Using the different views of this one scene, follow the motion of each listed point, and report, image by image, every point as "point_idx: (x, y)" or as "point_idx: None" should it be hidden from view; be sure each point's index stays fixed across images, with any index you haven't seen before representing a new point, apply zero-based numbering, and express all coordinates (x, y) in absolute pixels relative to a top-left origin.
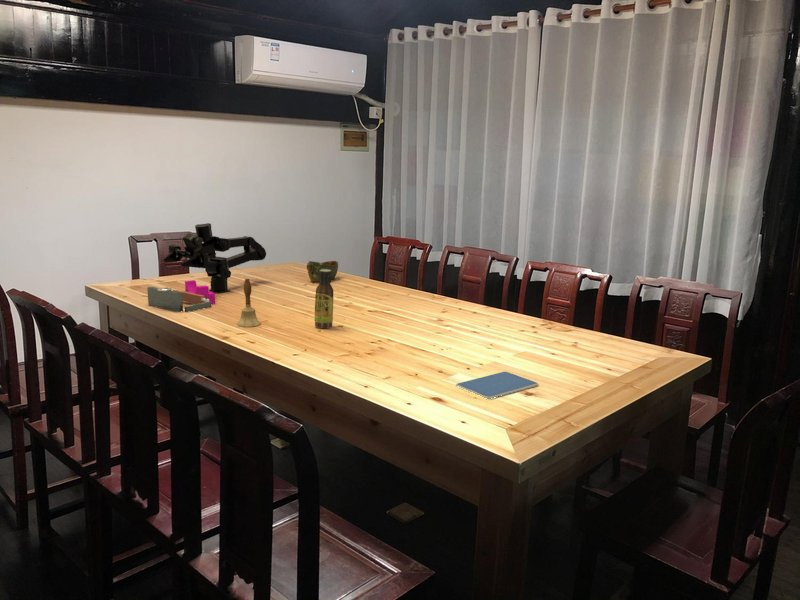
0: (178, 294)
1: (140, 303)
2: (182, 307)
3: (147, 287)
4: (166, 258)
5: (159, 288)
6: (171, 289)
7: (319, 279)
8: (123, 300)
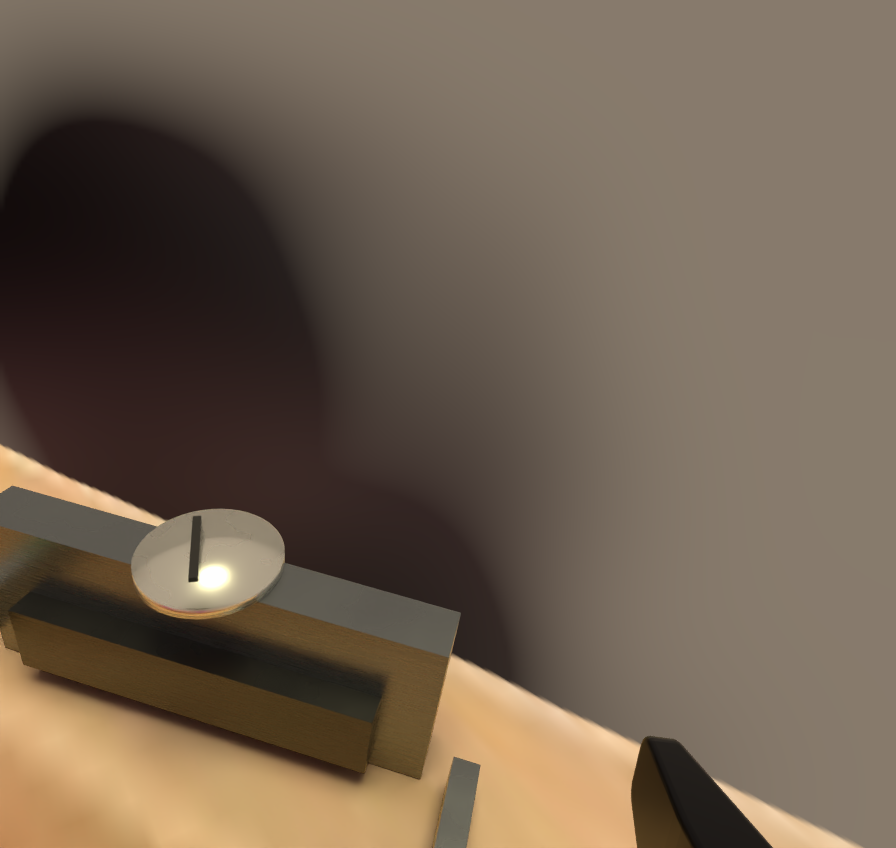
0: (7, 496)
1: (547, 767)
2: (1, 617)
3: (458, 614)
4: (664, 815)
5: (267, 547)
6: (133, 579)
7: None
8: (777, 811)
